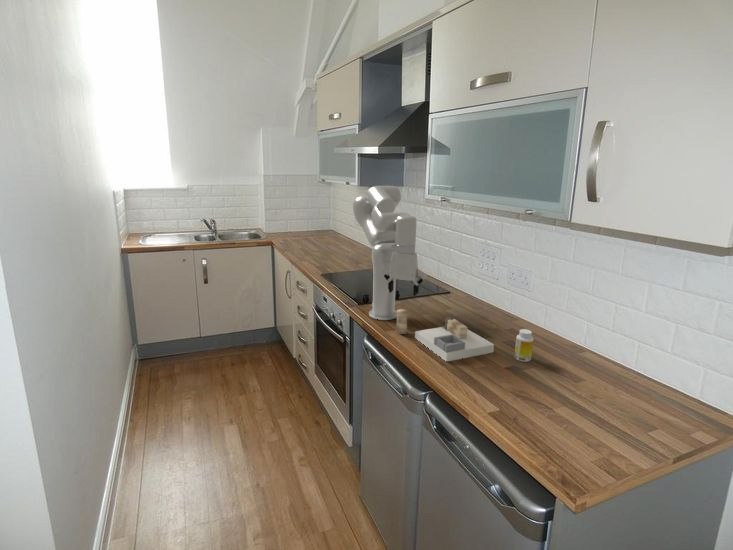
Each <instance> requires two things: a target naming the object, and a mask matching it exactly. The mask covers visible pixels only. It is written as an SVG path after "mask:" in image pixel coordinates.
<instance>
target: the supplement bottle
mask: <svg viewBox="0 0 733 550" xmlns="http://www.w3.org/2000/svg"><path fill="white" fill-rule="evenodd" d="M534 341H535V340H534V337H533V332H532V331H531V330H529V329H526V328H523V329H519V333H518V334H517V335H516V339H515V348H514V354H513V355H514V358H515V360H516V361H519V362H524V363H527V362H530V361H531V360H532V356H533V355H532V354H533V348H534V347H533V346H534Z"/></svg>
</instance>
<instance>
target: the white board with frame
mask: <svg viewBox="0 0 733 550" xmlns="http://www.w3.org/2000/svg"><path fill="white" fill-rule="evenodd" d="M415 338H416V339H417V340H418V341H417V340H416V339H415ZM414 339H415V340H416V341H417V342H419V341H420V342H421V343H422V344H421V343H420V342H419V343H420V344H421V345H423V344H424V345H425V346H426V347H425V346H424V345H423V346H424V347H425V348H427V347H428V348H429V349H428V348H427V349H428V350H429V351H431V350H432V351H433V352H432V351H431V352H432V353H434V354H435V355H436V354H437V355H436V356H438V357H439V356H440V357H441V358H440V357H439V358H440V359H442V360H443V361H444V360H445V362H446V361H447V362H452V361H458V360H462V358H463V359H466V358H467V359H468V358H472V357H473V358H474V357H478V356H481V355H487V354H492V353H494V352H495V351H494V350H495V344H494V343H492V342H490V341H488V340H487V339H486V338H484V337H482V336H480V335H479V334H477V333H475V332H473V331H471V330H470V329H467V338H458V337H457V336H455V335H454V334H452V333H451V332H450V331H448V330H447V329H445V326H439V327H433V328H428V329H420V330H415V331H414Z"/></svg>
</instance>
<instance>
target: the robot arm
mask: <svg viewBox="0 0 733 550" xmlns="http://www.w3.org/2000/svg"><path fill="white" fill-rule="evenodd" d="M401 197H402V195H401V191H400V189H399V188H398V187H397V186H395V185H375V186H374V185H373V186H371V187H370V188H368V190H367V192H366V195H360V196H358V197H356V198H355V199H353V202H352V211H353V215H354V218H355V220H356V222H357V223H358V224H359V225H360V227H361V229H362V230H363V232H364V235H365V236H366V239H367V241H368V243H369V245H370V247H371V248H372V249H371V261H372V271H373V273H372V274H373V278H372V279H373V280H372V281H373V282H372V288H373V289H372V303H371V306H372V309H371V310H369V311H368V315H369V317H370V318H372V319H374V320H377V319H378V321H392V320H394V319H397V310H395V309H396V307H395V306H396V288H397V287H396V284H397V282H396V281H397V280H402V281H409V282H411V281H412V282H413V283H414V285H413V291H412V292H413V293H412V294H413V296H414V297H416V296H417V295H418V294H419V291H420V288H419V287H420V284H421V283H422V282H424V280H425V278H426V277H427V275H428V274H427V273H426V272H424V271H422V270H421V269H420V268H419V263H418V262H419V261H418V253H417V252H416V237H417V217H415V216H413V215H411V214H410V213H408V212H394V211H395V209H396V208H397V206H398V205H399V204H400V202H401V199H402V198H401ZM418 275H420V276H421V277H420V278H419V279H418Z"/></svg>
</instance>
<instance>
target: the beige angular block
mask: <svg viewBox="0 0 733 550" xmlns="http://www.w3.org/2000/svg"><path fill="white" fill-rule="evenodd" d="M444 327H445V329H447V330H448V331H450V332H451V333H452V334H454V335H455V336H457V337H458V338H467V329H468V328H469V327H468V326H466V325H464V324H463V323H462V322H460V321H459V320H457V319H455V318H454V317H452V316H446V317H445V322H444ZM468 330H469V329H468Z"/></svg>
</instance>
